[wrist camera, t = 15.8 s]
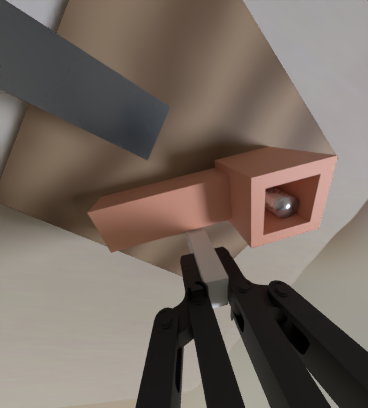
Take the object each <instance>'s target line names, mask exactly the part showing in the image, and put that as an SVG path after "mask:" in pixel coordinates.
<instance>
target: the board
mask: <svg viewBox="0 0 368 408" xmlns="http://www.w3.org/2000/svg"><path fill="white" fill-rule="evenodd" d="M57 34H58V35H60V36H61V37H63V38H64V39H66V40H68V41H69V42H71V43H72V44H74V45H75V46H77V47H78V48H80V49H81V50H83V51H85V52H86V53H88V54H89V55H91V56H92V57H94V58H95V59H97V60H98V61H100V62H102V63H103V64H105V65H106V66H108V67H109V68H111V69H112V70H114V71H116V72H117V73H119V74H120V75H122V76H123V77H125V78H126V79H128V80H129V81H131V82H133V83H134V84H136V85H137V86H139V87H140V88H142V89H143V90H145V91H146V92H148V93H150V94H151V95H153V96H154V97H156V98H157V99H159V100H160V101H162V102H163V103H165V104H167V105H168V106H170V109H169V112H168V114H167V116H166V119H165V121H164V123H163V126H162V128H161V130H160V133H159V135H158V138H157V140H156V142H155V145H154V147H153V149H152V152H151V154H150V156H149V159H148V160H146V159H144V158H141V157H139V156H137V155H135V154H133V153H131V152H129V151H127V150H125V149H123V148H121V147H119V146H117V145H115V144H113V143H110V142H108V141H106V140H104V139H102V138H100V137H98V136H96V135H94V134H92V133H90V132H88V131H86V130H84V129H82V128H79V127H77V126H75V125H73V124H71V123H69V122H67V121H65V120H63V119H61V118H59V117H57V116H55V115H53V114H51V113H48V112H46V111H44V110H42V109H40V108H38V107H36V106H34V105H32V104H30V103H29V106H28V108H27V111H26V114H25V116H24V119H23V121H22V124H21V127H20V129H19V132H18V134H17V137H16V140H15V142H14V145H13V147H12V150H11V153H10V155H9V158H8V160H7V163H6V166H5V168H4V171H3V174H2V176H1V179H0V204H2V205H5V206H7V207H10V208H12V209H15V210H17V211H20V212H22V213H25V214H27V215H30V216H32V217H35V218H37V219H40V220H42V221H45V222H47V223H50V224H52V225H55V226H57V227H60V228H62V229H65V230H67V231H70V232H72V233H75V234H77V235H80V236H82V237H85V238H87V239H90V240H92V241H95V242H97V243H100V244H102V245H105V246H107V245H106V243H105V242H104V240H103V238H102V236H101V235H100V233H99V231H98V230H97V228H96V226H95V225H94V223H93V221H92V220H91V218H90V216H89V215H88V211H89V210H90V209H91V208H92V207H93V206H94V204H95V203H96V202H97V201H98V200H99V199H100V197H102V196H106V195H110V194H114V193H118V192H122V191H126V190H130V189H134V188H137V187H141V186H145V185H149V184H153V183H157V182H161V181H165V180H169V179H173V178H177V177H181V176H185V175H188V174H192V173H196V172H200V171H204V170H208V169H212V168H215V161H214V160H217V159H221V158H225V157H229V156H233V155H237V154H241V153H245V152H249V151H253V150H257V149H261V148H265V147H277V148H285V149H293V150H301V151H309V152H316V153H324V154H332V155H336V154H335V152H334V150H333V149H332V147H331V146H330V144H329V142H328V141H327V139H326V137H325V136H324V134H323V132H322V131H321V129H320V127H319V126H318V124H317V122H316V121H315V119H314V117H313V116H312V114H311V112H310V111H309V109H308V108H307V106H306V104H305V103H304V101H303V99H302V98H301V96H300V94H299V93H298V91H297V89H296V88H295V86H294V84H293V83H292V81H291V79H290V78H289V76H288V74H287V73H286V71H285V70H284V68H283V66H282V65H281V63H280V61H279V60H278V58H277V56H276V55H275V53H274V51H273V50H272V48H271V46H270V45H269V43H268V41H267V40H266V38H265V36H264V35H263V33H262V32H261V30H260V28H259V27H258V25H257V23H256V22H255V20H254V18H253V17H252V15H251V13H250V12H249V10H248V8H247V7H246V5H245V3H244V2H243V0H69V1H68V4H67V7H66V9H65V12H64V15H63V17H62V20H61V22H60V25H59V28H58V30H57ZM337 159H338V157H337ZM204 229H205V231H206V233H207V235H208V237H209V239H210V241H211V243H212V245H213V247H214V248H218V247H222V246H223V247H224V248H226V249H227V250H228V251H229V253H230V254H231V256H232V258H233V259H234V258H235V257H236V256H237V255H238V254H239V253H240V252H241V251H242V250H243V249H244V248H245V247H246V246H247V245H248V244H247V242H246V241H245V240H244V239H243V237H242V236H241V235H240V234H239V233H238V231H237V230H236V229H235V228H234V227H233V225H232V224H231V223H230V222H229V220H227V221H223V222H219V223H216V224H212V225H209V226H205V227H204ZM118 251H120V252H122V253H125V254H127V255H130V256H132V257H135V258H137V259H140V260H142V261H145V262H147V263H150V264H152V265H155V266H157V267H160V268H162V269H165V270H167V271H170V272H172V273H175V274H177V275H180V276H182V270H181V265H180V259H181V256H182V255H187V254H191V253H190V250H189V246H188V241H187V234H186V232H183V233H180V234H176V235H172V236H169V237H165V238H162V239H158V240H154V241H151V242H147V243H144V244H140V245H136V246H133V247H129V248H126V249H122V250H118ZM182 277H183V276H182Z"/></svg>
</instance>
